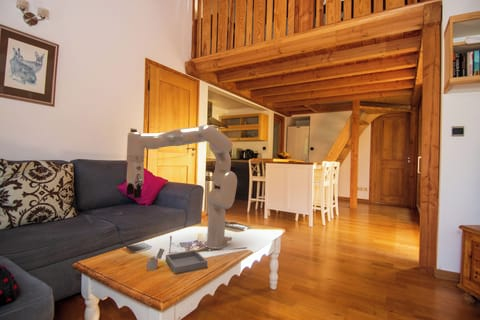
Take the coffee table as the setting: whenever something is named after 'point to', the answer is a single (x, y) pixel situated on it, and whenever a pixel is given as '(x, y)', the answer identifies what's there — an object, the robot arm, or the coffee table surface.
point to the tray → (185, 261)
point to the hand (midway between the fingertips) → (133, 196)
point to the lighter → (154, 261)
